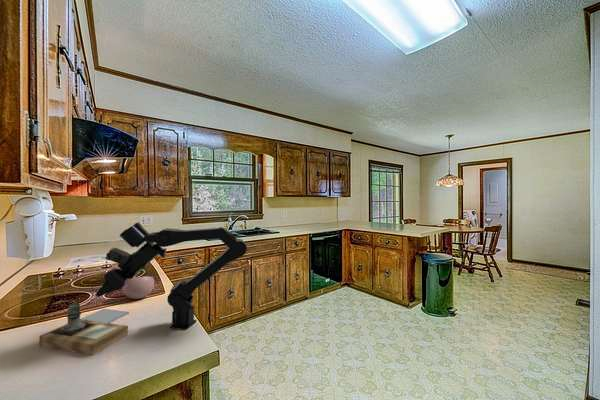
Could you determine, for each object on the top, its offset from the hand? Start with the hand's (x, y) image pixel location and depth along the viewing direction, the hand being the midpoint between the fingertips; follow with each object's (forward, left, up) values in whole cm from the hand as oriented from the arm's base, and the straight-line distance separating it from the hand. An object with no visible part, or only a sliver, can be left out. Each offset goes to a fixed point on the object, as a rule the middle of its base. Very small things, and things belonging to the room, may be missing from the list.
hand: (103, 290), depth 86 cm
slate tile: (+10, -9, -14) cm, 20 cm away
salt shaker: (+6, +4, -14) cm, 16 cm away
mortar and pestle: (+13, -29, -14) cm, 35 cm away
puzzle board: (+1, +4, -14) cm, 15 cm away
